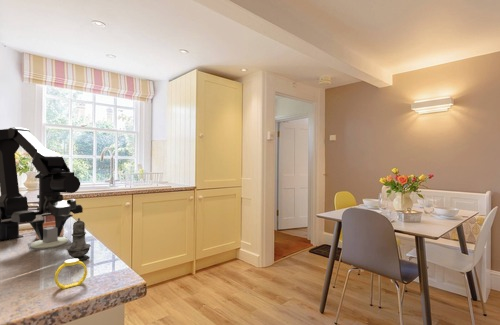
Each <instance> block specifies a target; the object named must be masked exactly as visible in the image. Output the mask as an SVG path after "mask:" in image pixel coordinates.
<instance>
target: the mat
mask: <svg viewBox="0 0 500 325" xmlns="http://www.w3.org/2000/svg"><path fill="white" fill-rule="evenodd" d="M66 238H68V237H67V236H66ZM72 242H73V241H71V240H70V238H68V242H67V243H65V244H63V245H60V246H56V247H51V248H43V249H35V248H31V243H32V242H30V243H29V242H28V243H27V246H28V249H29V253H31V252H39V251H42V250H48V249H54V248H58V247H59V248H60V247H64V246H71V245H72Z"/></svg>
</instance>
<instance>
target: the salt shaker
mask: <svg viewBox="0 0 500 325" xmlns="http://www.w3.org/2000/svg"><path fill="white" fill-rule="evenodd" d="M85 228H86V224H85V222H84V221H83V220H81V218H80V217H78V218H77V220H76V221H74V222H73V223H72V233H71V236H72V241H71V242H72V244H71V245H69V246H68V247H66V251H67V253H68V255H69V256H70V258H69V259H74V258H76V259H79V261H81V262H83V263H84V262H85V261H88V260H89V259H90V255H87V254H88V253H89V251H90V249H91V248H90V247H91V246H92V244H90V243H87V242H86V234H87V232H86V230H85ZM87 259H88V260H87Z"/></svg>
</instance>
